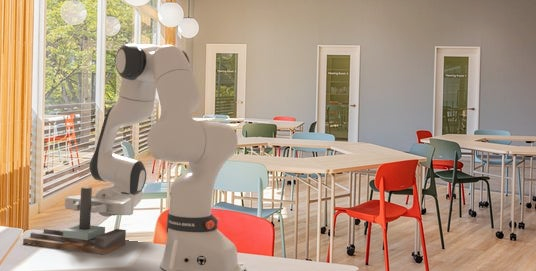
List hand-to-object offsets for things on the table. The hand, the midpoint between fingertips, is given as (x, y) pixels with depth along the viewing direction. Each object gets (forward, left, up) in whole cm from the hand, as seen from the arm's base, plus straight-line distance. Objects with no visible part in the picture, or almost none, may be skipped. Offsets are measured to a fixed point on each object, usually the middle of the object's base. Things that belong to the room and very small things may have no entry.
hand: (83, 208), depth 157 cm
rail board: (+3, -1, -11) cm, 11 cm away
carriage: (0, -1, -8) cm, 8 cm away
